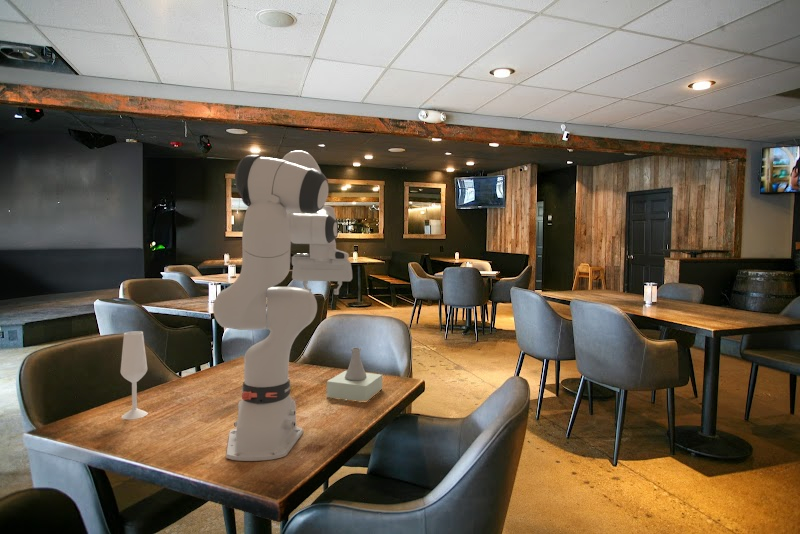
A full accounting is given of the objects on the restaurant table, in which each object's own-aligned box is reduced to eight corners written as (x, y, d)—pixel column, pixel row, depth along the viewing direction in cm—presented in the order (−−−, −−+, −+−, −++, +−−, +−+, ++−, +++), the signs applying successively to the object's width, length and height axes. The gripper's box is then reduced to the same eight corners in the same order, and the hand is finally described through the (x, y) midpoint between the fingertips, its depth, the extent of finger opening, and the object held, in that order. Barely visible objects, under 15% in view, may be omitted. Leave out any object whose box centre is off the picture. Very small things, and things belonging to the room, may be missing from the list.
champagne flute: (153, 413, 137) (152, 331, 135) (131, 421, 131) (130, 335, 129) (137, 409, 140) (136, 329, 138) (115, 416, 133) (114, 333, 132)
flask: (370, 376, 159) (370, 347, 158) (359, 382, 152) (360, 351, 152) (351, 373, 162) (351, 345, 161) (340, 379, 155) (341, 349, 155)
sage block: (365, 404, 148) (366, 386, 148) (326, 399, 153) (326, 381, 153) (382, 391, 162) (382, 374, 161) (345, 387, 166) (345, 370, 166)
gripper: (290, 253, 155) (290, 295, 155) (352, 254, 156) (351, 295, 157) (293, 252, 161) (292, 293, 162) (352, 253, 163) (352, 293, 163)
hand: (322, 294), depth 159 cm, fingers open, 8 cm apart
